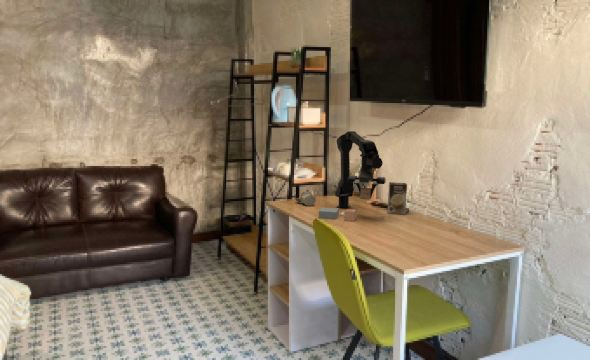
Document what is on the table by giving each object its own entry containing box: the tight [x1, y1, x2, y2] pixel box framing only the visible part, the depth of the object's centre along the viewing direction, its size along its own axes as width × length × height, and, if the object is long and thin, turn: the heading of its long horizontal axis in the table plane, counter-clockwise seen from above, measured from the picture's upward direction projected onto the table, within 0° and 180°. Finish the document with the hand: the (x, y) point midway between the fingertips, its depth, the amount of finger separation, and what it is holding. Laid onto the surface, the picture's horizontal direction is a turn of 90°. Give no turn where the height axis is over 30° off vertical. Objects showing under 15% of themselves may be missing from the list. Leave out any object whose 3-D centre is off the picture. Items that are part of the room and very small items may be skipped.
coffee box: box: [387, 182, 408, 215], centre depth 272 cm, size 9×6×16 cm
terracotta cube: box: [344, 208, 358, 222], centre depth 257 cm, size 5×5×5 cm
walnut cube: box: [359, 187, 373, 201], centre depth 262 cm, size 5×5×5 cm
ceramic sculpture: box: [294, 189, 317, 207], centre depth 293 cm, size 11×9×15 cm
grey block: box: [318, 207, 340, 220], centre depth 263 cm, size 9×9×4 cm
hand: (366, 196), depth 262 cm, fingers closed on walnut cube, 5 cm apart
